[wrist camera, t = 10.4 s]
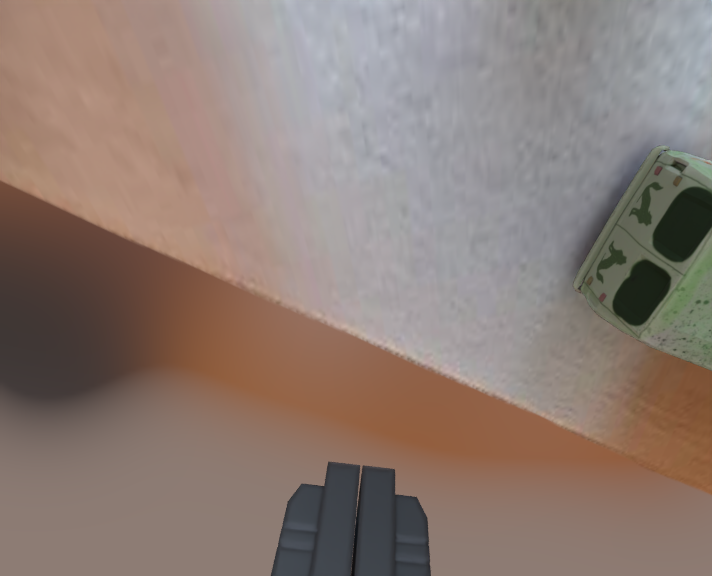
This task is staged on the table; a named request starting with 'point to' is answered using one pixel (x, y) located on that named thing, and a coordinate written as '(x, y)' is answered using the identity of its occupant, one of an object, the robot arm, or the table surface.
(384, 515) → the robot arm
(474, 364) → the table surface
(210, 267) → the table surface
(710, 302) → the toy car
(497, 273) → the table surface
